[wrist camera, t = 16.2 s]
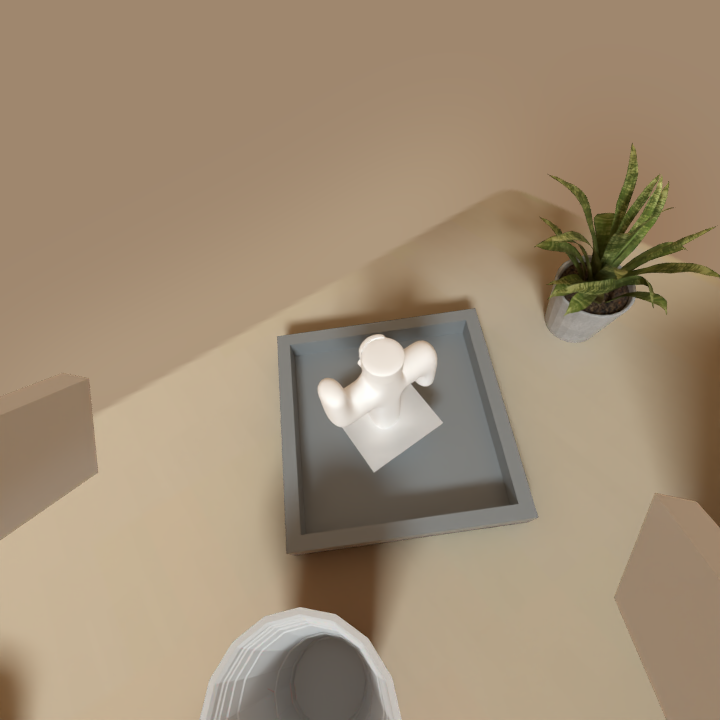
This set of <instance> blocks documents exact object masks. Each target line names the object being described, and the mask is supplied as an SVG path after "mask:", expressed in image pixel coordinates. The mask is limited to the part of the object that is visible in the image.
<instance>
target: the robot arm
mask: <svg viewBox="0 0 720 720" xmlns="http://www.w3.org/2000/svg"><path fill="white" fill-rule="evenodd" d="M96 473H98V466H97V456H96V446H95V435H94V425H93V415H92V404H91V394H90V384H89V378H86V377H81V376H76V375H71V374H66V373H61V374H58V375H56V376H53V377H50V378H48V379H45V380H42V381H40V382H37V383H34V384H32V385H29V386H27V387H24V388H21V389H19V390H16V391H13V392H11V393H8V394H5V395H3V396H0V540H1V539H3V538H4V537H6V536H7V535H9V534H10V533H11V532H13V531H14V530H16V529H17V528H19V527H20V526H21V525H23V524H24V523H26V522H27V521H29V520H30V519H32V518H33V517H34V516H36V515H37V514H39V513H40V512H42V511H43V510H45V509H46V508H47V507H49V506H50V505H52V504H53V503H55V502H56V501H58V500H59V499H60V498H62V497H63V496H65V495H66V494H68V493H69V492H70V491H72V490H73V489H75V488H76V487H78V486H79V485H81V484H82V483H83V482H85V481H86V480H88V479H89V478H91V477H92V476H94V475H95V474H96ZM614 598H615V601H616V603H617V605H618V608H619V610H620V612H621V615H622V617H623V619H624V622H625V624H626V626H627V629H628V631H629V633H630V636H631V638H632V641H633V643H634V645H635V648H636V650H637V652H638V655H639V657H640V659H641V662H642V664H643V666H644V669H645V671H646V673H647V676H648V678H649V680H650V683H651V685H652V687H653V690H654V692H655V694H656V697H657V699H658V701H659V704H660V706H661V708H662V711H663V713H664V715H665V718H666V720H720V528H719V526H718V525H717V524H716V523H715V522H714V521H713V520H712V518H711V517H710V516H709V515H708V514H707V513H706V512H705V510H704V509H703V508H702V507H701V506H700V505H699V503H698V502H697V501H692V500H687V499H682V498H677V497H673V496H668V495H663V494H658V493H655V494H654V497H653V499H652V502H651V504H650V507H649V510H648V512H647V515H646V517H645V520H644V522H643V525H642V527H641V530H640V533H639V535H638V538H637V540H636V543H635V545H634V548H633V550H632V553H631V555H630V558H629V561H628V563H627V566H626V568H625V571H624V573H623V576H622V578H621V581H620V583H619V586H618V589H617V591H616V594H615V596H614Z"/></svg>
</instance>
